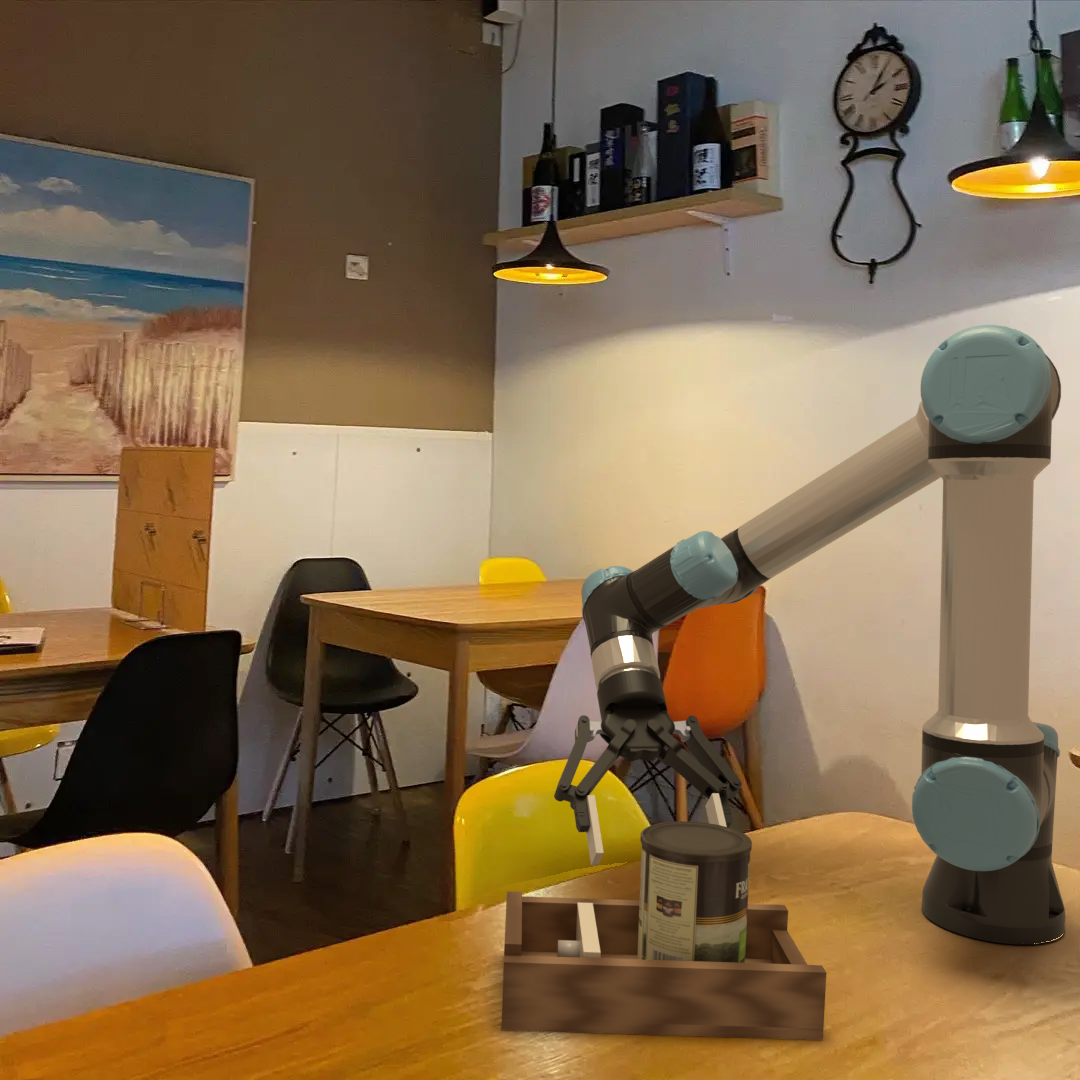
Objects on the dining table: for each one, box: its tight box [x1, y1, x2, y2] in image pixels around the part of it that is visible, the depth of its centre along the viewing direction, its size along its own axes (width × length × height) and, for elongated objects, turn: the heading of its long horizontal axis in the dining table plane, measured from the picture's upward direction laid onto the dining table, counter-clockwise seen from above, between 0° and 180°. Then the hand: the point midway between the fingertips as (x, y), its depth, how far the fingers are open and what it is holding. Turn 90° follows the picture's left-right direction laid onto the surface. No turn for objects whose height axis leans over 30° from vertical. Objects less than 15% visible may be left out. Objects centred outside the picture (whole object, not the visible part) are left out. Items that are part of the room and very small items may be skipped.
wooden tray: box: [500, 891, 827, 1041], centre depth 107 cm, size 28×16×7 cm, turn 91°
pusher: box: [557, 903, 601, 958], centre depth 107 cm, size 4×12×5 cm, turn 1°
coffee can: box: [637, 821, 753, 963], centre depth 107 cm, size 10×10×14 cm
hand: (661, 857), depth 117 cm, fingers open, 13 cm apart
